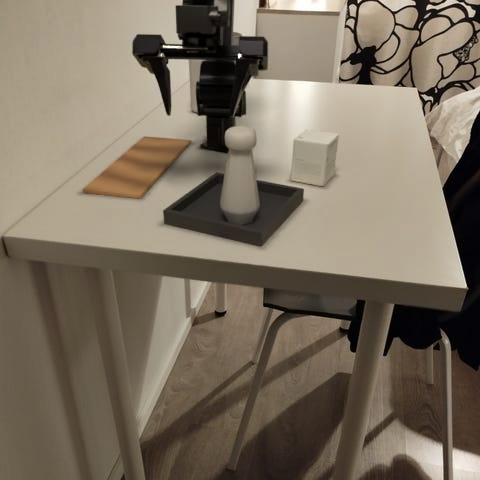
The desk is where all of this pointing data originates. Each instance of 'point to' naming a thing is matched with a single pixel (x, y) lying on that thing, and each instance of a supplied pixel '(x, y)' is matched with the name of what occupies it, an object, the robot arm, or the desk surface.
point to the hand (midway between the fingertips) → (200, 115)
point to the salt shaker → (240, 177)
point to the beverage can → (194, 81)
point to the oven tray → (214, 221)
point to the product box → (314, 157)
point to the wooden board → (138, 168)
